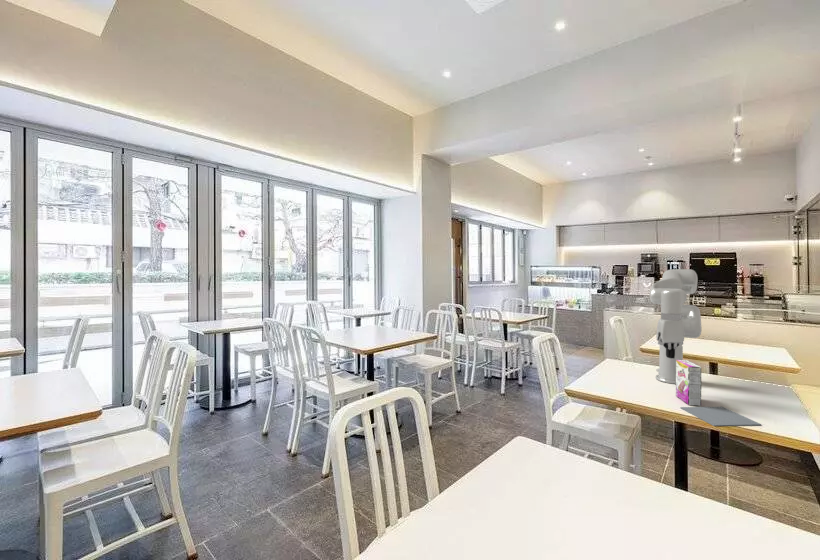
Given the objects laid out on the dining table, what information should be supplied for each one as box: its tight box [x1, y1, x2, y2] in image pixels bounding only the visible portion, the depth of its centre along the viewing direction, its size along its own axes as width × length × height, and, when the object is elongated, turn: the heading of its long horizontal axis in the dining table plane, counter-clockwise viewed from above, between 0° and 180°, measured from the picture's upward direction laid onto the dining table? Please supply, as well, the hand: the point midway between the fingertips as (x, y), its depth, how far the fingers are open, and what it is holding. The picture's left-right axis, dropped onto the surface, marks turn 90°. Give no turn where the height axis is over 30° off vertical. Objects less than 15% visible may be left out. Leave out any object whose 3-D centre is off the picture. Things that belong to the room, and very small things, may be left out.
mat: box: [680, 406, 762, 427], centre depth 145 cm, size 17×17×1 cm
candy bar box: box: [675, 359, 703, 407], centre depth 160 cm, size 11×5×16 cm, turn 168°
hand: (670, 357), depth 171 cm, fingers closed
